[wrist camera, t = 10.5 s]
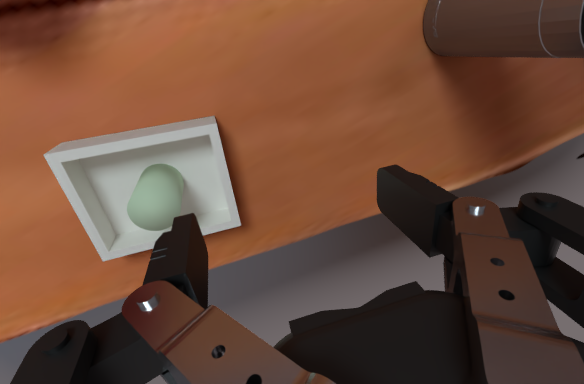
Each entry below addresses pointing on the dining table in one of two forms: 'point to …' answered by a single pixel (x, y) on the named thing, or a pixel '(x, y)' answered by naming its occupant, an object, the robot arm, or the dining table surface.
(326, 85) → the dining table surface
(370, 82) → the dining table surface
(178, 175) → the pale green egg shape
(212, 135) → the serving dish
